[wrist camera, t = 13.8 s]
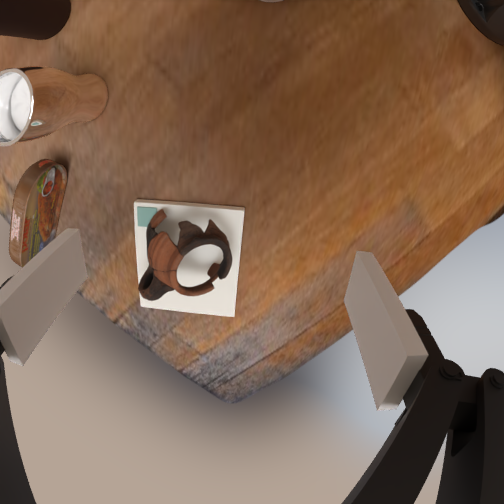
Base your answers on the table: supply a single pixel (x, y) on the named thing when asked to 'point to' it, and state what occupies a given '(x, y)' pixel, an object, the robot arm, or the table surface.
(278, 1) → the coffee cup
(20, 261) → the tin
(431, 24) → the table surface
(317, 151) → the table surface
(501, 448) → the robot arm
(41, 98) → the beer glass
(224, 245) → the broken pottery vessel
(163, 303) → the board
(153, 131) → the table surface
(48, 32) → the bottle
